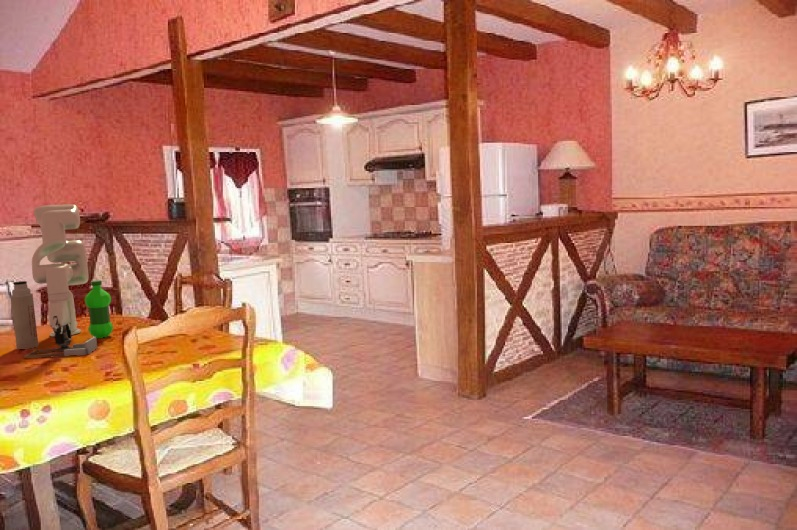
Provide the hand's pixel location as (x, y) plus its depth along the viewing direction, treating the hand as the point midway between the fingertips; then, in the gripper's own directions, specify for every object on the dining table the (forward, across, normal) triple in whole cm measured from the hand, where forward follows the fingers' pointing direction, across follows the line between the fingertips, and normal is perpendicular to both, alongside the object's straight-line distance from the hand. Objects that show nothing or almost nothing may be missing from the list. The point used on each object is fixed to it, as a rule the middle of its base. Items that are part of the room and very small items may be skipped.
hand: (63, 341), depth 261 cm
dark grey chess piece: (+3, 0, 0) cm, 3 cm away
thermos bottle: (+5, -16, -21) cm, 27 cm away
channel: (+5, 0, -5) cm, 7 cm away
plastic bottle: (+5, -28, +4) cm, 29 cm away
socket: (+5, 0, +6) cm, 8 cm away
